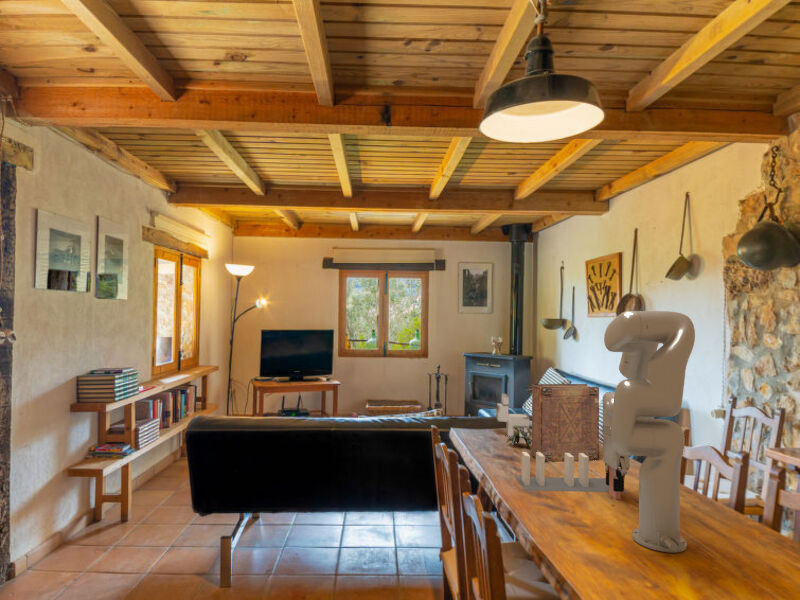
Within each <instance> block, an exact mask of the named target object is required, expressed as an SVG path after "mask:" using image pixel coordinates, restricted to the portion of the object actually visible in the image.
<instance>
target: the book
mask: <svg viewBox="0 0 800 600" xmlns="http://www.w3.org/2000/svg"><path fill="white" fill-rule="evenodd" d="M531 386H532V387H531V390H532V391H531V394H532V395H531V421H532V427H531V432H532V434H531V440H532V442H531V457H533V456H534V457H533V458H535V459H536V452H541V453H542V454H543V455H544V456H545V463H549V462H548V461H564V455H565V453H570V454H571V455H572V456H574V462H579V453H584V454H585V455H586V456H588V457H589V462H591V461H593V460H594V461H595V460H596V461H599V460H600V388H599V387H598V386H590V385H588V384H587V383H544V384H543V383H540V384H539V383H536V384H535V383H534V384H532V385H531ZM596 461H595V462H596Z"/></svg>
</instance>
